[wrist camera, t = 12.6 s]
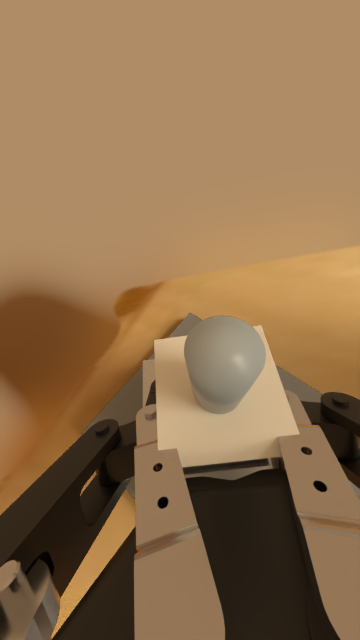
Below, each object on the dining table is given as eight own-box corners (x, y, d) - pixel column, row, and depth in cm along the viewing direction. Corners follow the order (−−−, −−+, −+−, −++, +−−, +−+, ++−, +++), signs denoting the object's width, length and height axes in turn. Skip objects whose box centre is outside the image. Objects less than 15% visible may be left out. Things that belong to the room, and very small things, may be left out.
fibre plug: (181, 396, 16) (129, 287, 5) (232, 390, 16) (287, 264, 5) (187, 458, 14) (119, 486, 3) (246, 451, 14) (389, 456, 3)
